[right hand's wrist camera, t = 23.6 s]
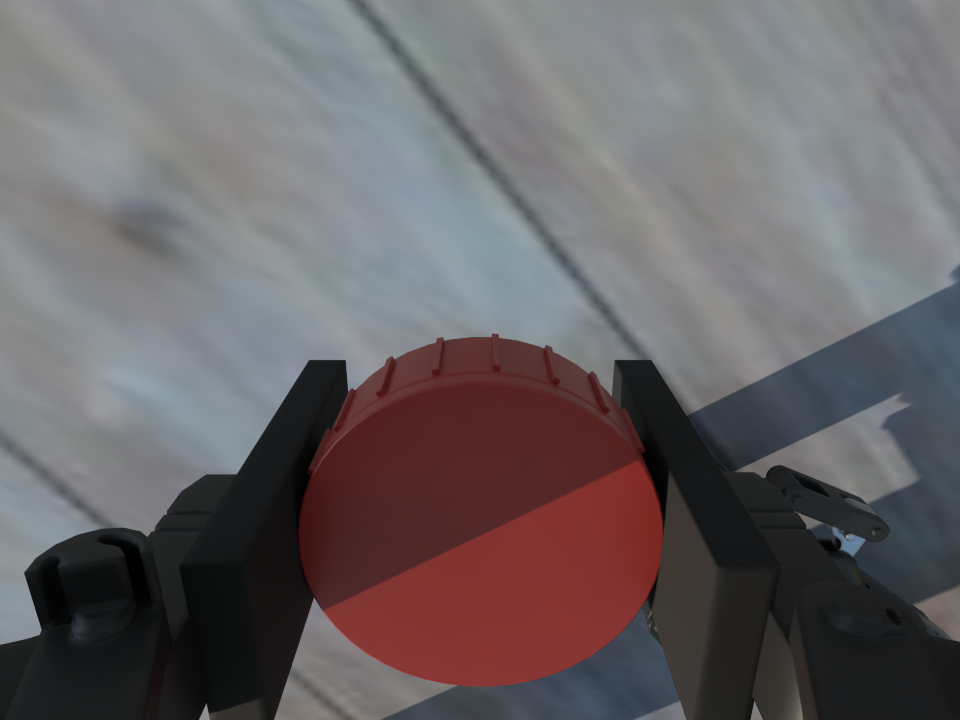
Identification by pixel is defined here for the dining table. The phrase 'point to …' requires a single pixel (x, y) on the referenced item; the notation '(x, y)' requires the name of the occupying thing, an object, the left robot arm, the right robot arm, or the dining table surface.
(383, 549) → the lid
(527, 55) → the dining table surface
